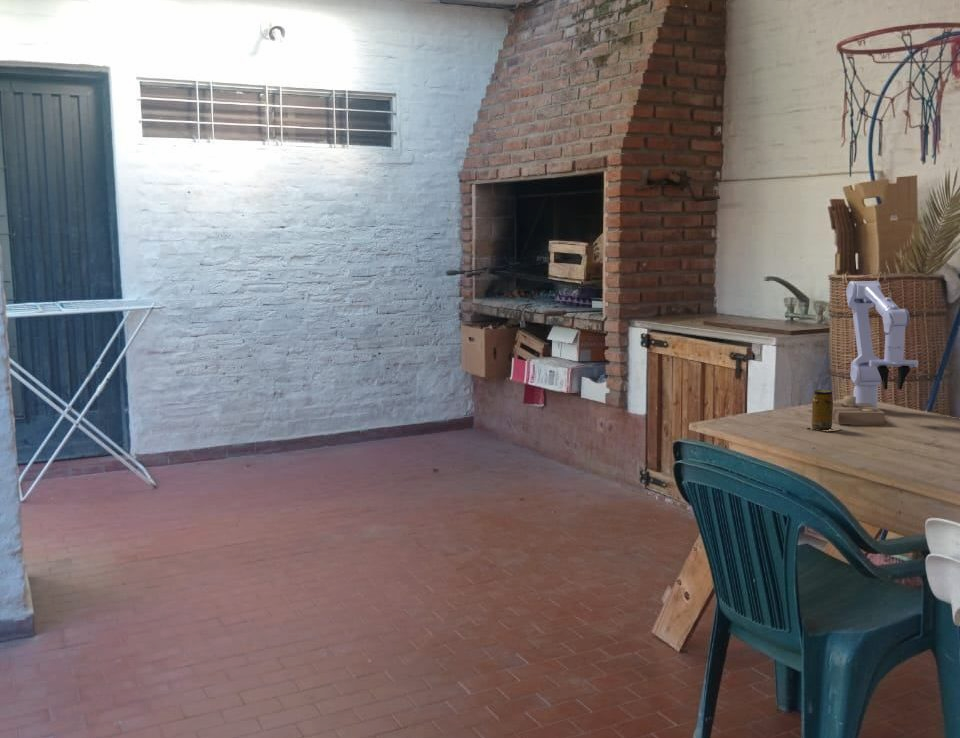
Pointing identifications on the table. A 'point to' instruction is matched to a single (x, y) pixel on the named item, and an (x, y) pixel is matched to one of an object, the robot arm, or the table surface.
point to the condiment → (822, 410)
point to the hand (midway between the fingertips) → (892, 389)
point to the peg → (849, 401)
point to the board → (858, 414)
